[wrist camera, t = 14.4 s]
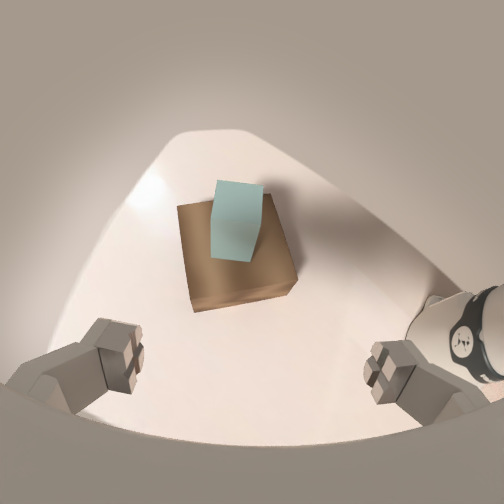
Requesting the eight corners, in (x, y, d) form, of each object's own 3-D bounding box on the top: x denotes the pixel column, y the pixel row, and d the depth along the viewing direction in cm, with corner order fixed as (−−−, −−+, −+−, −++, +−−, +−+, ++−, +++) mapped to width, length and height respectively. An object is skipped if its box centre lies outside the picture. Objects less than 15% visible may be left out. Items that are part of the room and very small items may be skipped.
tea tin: (252, 228, 34) (263, 185, 27) (250, 262, 32) (261, 224, 25) (215, 223, 34) (217, 180, 27) (210, 257, 32) (210, 218, 25)
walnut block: (263, 218, 42) (270, 193, 37) (286, 295, 37) (298, 279, 32) (181, 230, 40) (176, 205, 34) (194, 313, 35) (190, 299, 29)
